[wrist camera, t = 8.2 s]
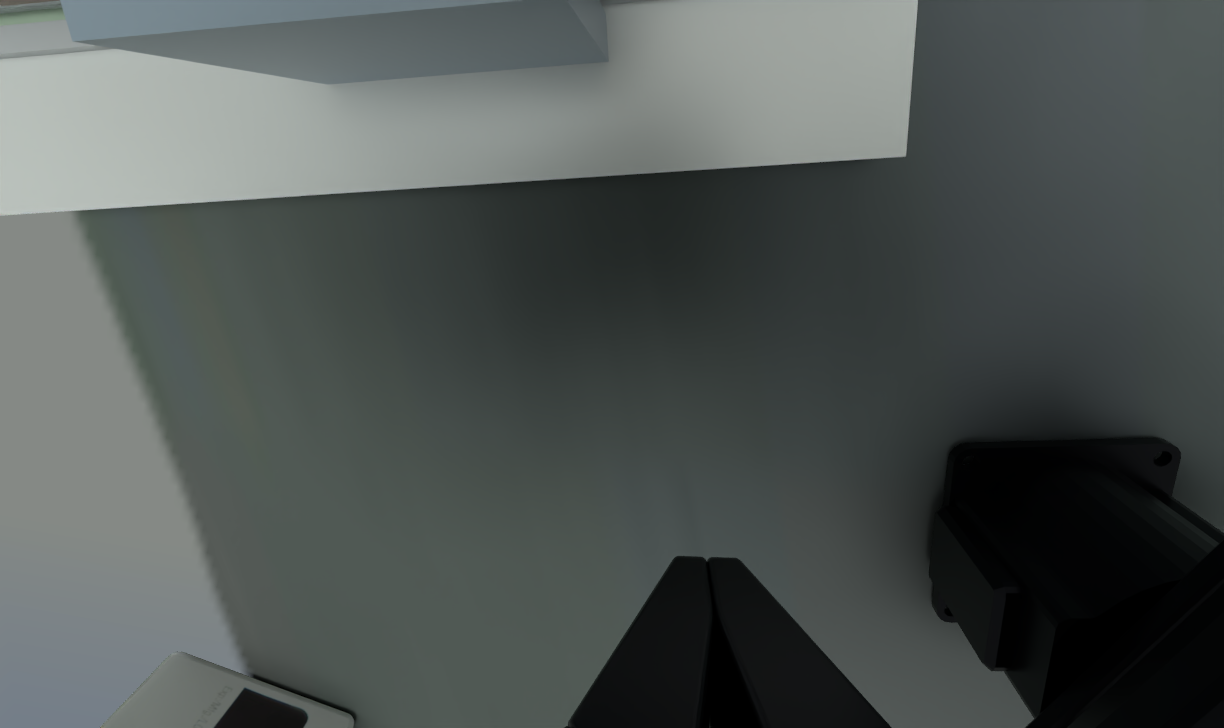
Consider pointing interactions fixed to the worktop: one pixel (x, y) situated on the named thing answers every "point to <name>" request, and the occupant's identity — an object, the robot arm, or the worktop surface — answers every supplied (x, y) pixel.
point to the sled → (27, 5)
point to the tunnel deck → (433, 93)
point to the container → (218, 701)
